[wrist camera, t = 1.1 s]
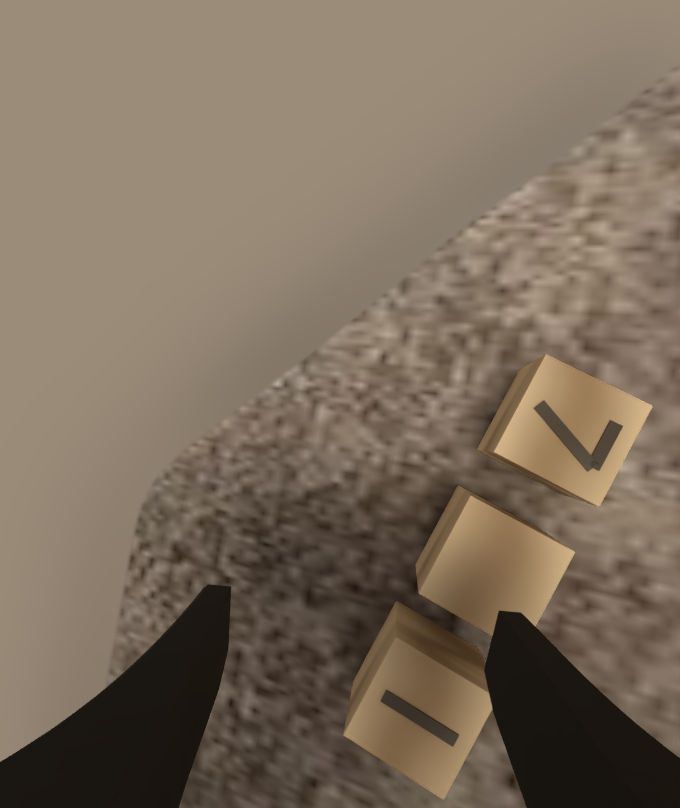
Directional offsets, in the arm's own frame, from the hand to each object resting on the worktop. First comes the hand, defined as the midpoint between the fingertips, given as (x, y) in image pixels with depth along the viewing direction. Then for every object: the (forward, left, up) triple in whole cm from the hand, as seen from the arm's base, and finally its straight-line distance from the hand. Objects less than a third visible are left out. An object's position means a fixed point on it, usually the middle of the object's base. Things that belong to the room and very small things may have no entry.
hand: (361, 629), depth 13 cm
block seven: (-4, -9, -12) cm, 15 cm away
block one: (-4, +4, -12) cm, 13 cm away
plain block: (-4, -2, -12) cm, 12 cm away
